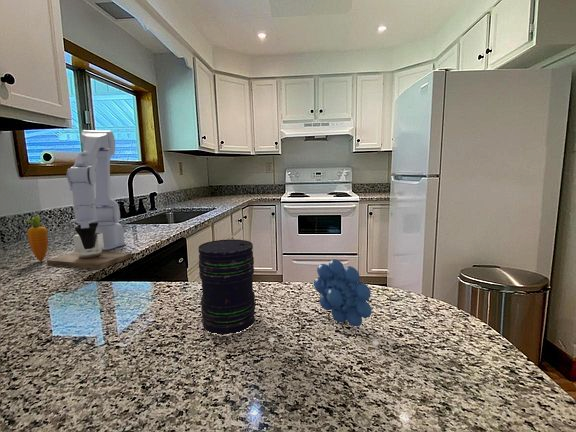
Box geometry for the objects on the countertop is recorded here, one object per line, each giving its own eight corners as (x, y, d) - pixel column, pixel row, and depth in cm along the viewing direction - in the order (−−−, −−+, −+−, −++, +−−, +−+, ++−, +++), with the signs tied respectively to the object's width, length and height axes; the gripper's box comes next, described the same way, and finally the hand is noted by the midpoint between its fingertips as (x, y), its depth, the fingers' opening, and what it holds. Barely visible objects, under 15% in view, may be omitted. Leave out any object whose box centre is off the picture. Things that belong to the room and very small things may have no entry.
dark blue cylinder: (201, 340, 50) (196, 254, 48) (202, 314, 60) (197, 241, 58) (259, 331, 53) (257, 249, 51) (251, 307, 62) (249, 237, 60)
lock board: (85, 253, 106) (84, 249, 106) (131, 257, 101) (131, 252, 101) (47, 264, 94) (46, 259, 93) (98, 269, 88) (97, 263, 88)
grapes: (301, 322, 56) (301, 260, 54) (320, 309, 61) (321, 252, 59) (360, 344, 49) (362, 273, 47) (376, 326, 54) (378, 263, 52)
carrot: (42, 263, 95) (36, 216, 93) (27, 263, 95) (20, 217, 93) (54, 258, 100) (49, 214, 98) (40, 259, 100) (34, 214, 98)
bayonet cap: (83, 253, 100) (81, 232, 99) (106, 252, 101) (104, 231, 100) (73, 258, 93) (70, 236, 92) (97, 257, 94) (95, 235, 93)
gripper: (72, 203, 99) (77, 243, 101) (65, 208, 86) (71, 253, 88) (97, 202, 102) (101, 241, 104) (94, 206, 90) (99, 250, 92)
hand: (89, 246), depth 97 cm, fingers closed on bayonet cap, 5 cm apart
